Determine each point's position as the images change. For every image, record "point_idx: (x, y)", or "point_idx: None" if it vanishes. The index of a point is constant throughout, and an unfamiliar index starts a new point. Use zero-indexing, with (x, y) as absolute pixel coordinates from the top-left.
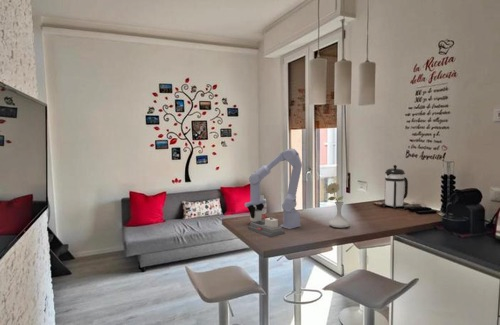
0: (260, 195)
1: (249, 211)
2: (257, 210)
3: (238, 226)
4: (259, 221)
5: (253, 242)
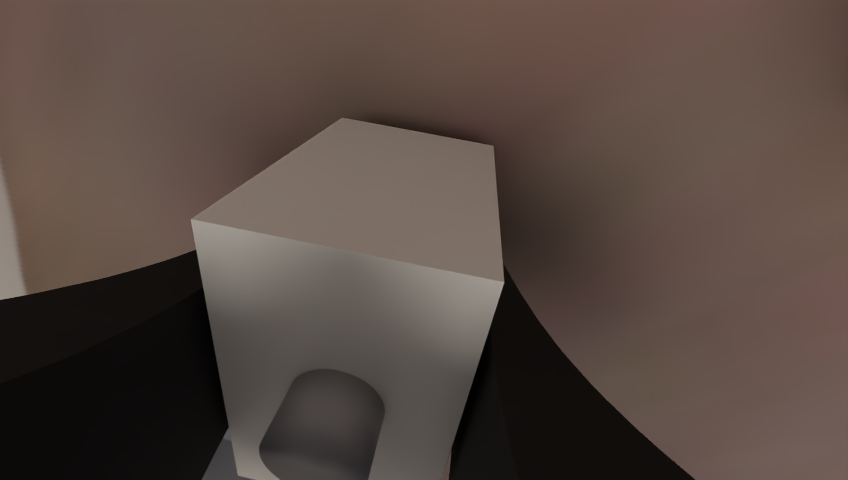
0: None
1: (136, 275)
2: (379, 440)
3: (86, 90)
4: None
5: None
